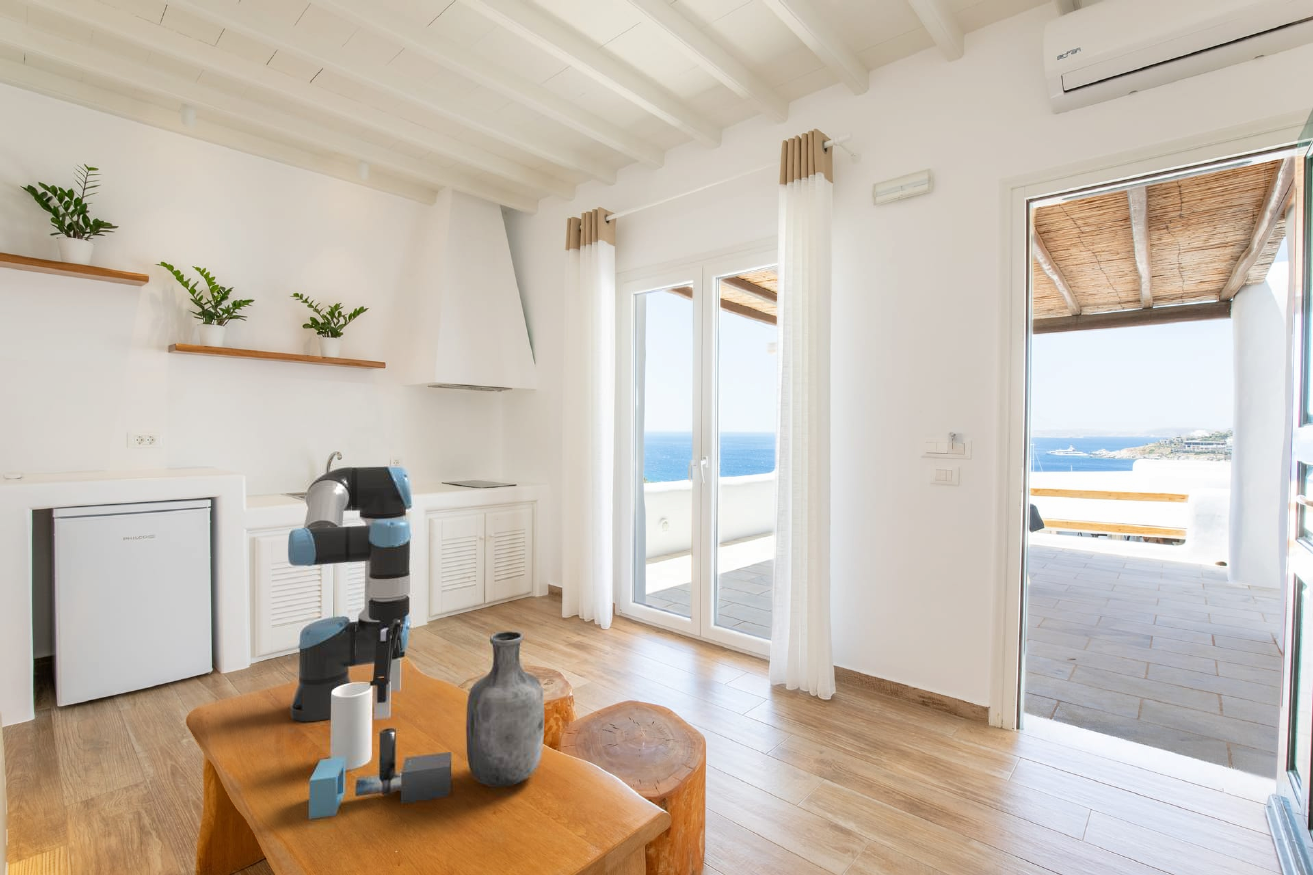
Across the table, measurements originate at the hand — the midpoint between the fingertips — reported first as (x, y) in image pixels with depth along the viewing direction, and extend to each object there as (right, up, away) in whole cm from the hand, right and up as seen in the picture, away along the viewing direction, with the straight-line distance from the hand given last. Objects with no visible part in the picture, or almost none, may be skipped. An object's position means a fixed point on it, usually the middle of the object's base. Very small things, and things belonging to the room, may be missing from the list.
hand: (388, 703), depth 121 cm
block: (+7, -19, +2) cm, 20 cm away
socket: (-11, -19, -3) cm, 22 cm away
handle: (+3, -18, +1) cm, 18 cm away
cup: (-14, -19, +14) cm, 27 cm away
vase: (+22, -19, +7) cm, 30 cm away
